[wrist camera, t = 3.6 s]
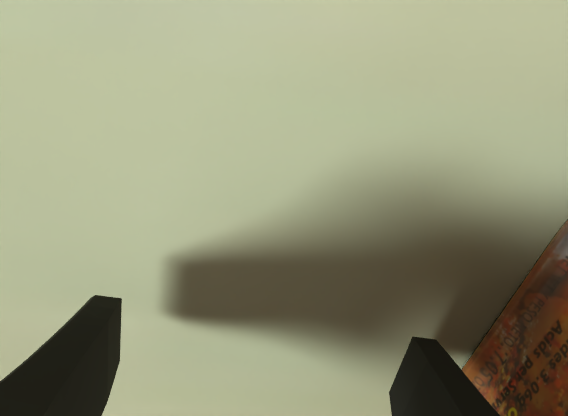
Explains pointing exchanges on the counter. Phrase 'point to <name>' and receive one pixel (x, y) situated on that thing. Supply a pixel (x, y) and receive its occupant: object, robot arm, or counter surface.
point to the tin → (529, 342)
